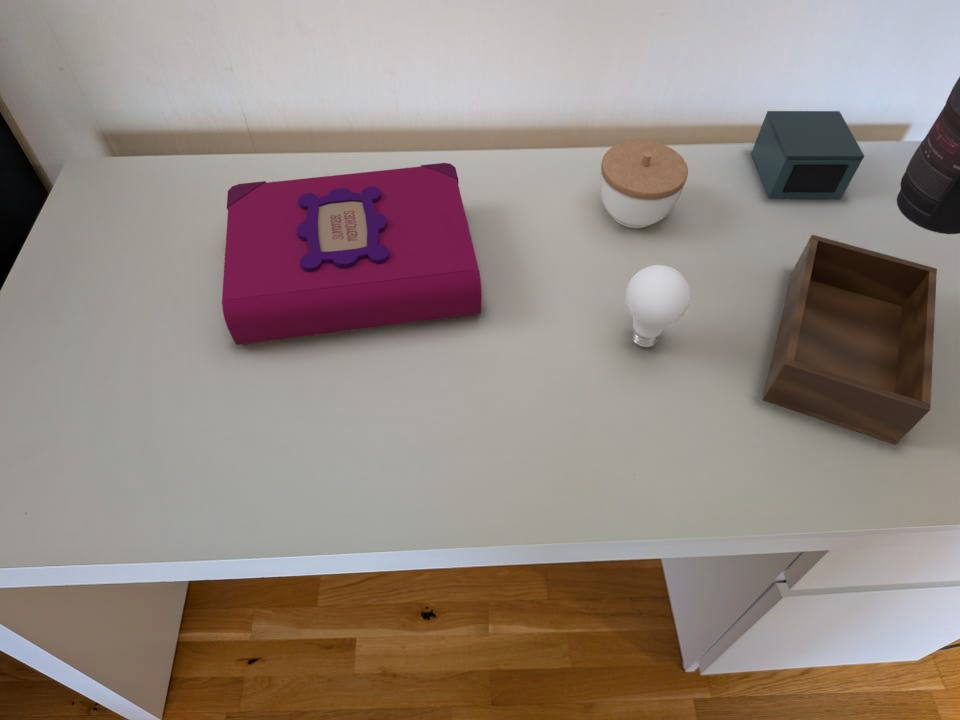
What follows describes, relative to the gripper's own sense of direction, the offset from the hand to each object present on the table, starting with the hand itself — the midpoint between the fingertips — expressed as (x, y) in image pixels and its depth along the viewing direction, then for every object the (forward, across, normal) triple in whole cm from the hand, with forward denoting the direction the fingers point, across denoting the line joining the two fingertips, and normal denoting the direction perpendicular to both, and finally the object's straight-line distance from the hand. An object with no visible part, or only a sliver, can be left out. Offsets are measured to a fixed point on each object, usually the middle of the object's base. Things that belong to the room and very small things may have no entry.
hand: (947, 190), depth 60 cm
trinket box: (+22, -12, -28) cm, 38 cm away
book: (+22, +12, -56) cm, 62 cm away
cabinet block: (+22, -29, -9) cm, 38 cm away
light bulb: (+22, +9, -21) cm, 32 cm away
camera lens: (+2, 0, 0) cm, 2 cm away
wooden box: (+22, +1, 0) cm, 22 cm away
